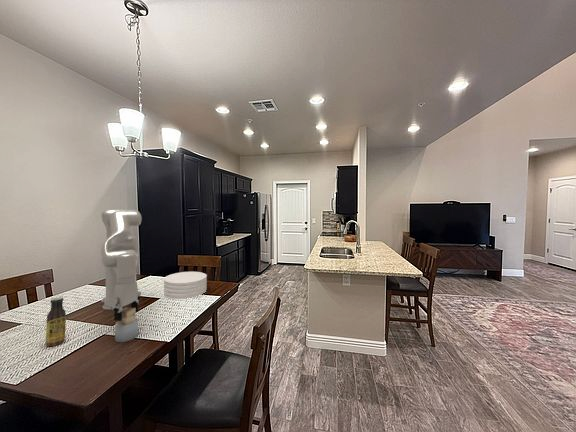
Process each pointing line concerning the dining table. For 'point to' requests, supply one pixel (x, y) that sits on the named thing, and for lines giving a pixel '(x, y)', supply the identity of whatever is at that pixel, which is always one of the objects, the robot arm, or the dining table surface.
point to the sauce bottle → (56, 323)
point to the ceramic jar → (126, 331)
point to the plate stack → (185, 285)
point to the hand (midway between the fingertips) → (126, 315)
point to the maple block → (128, 316)
